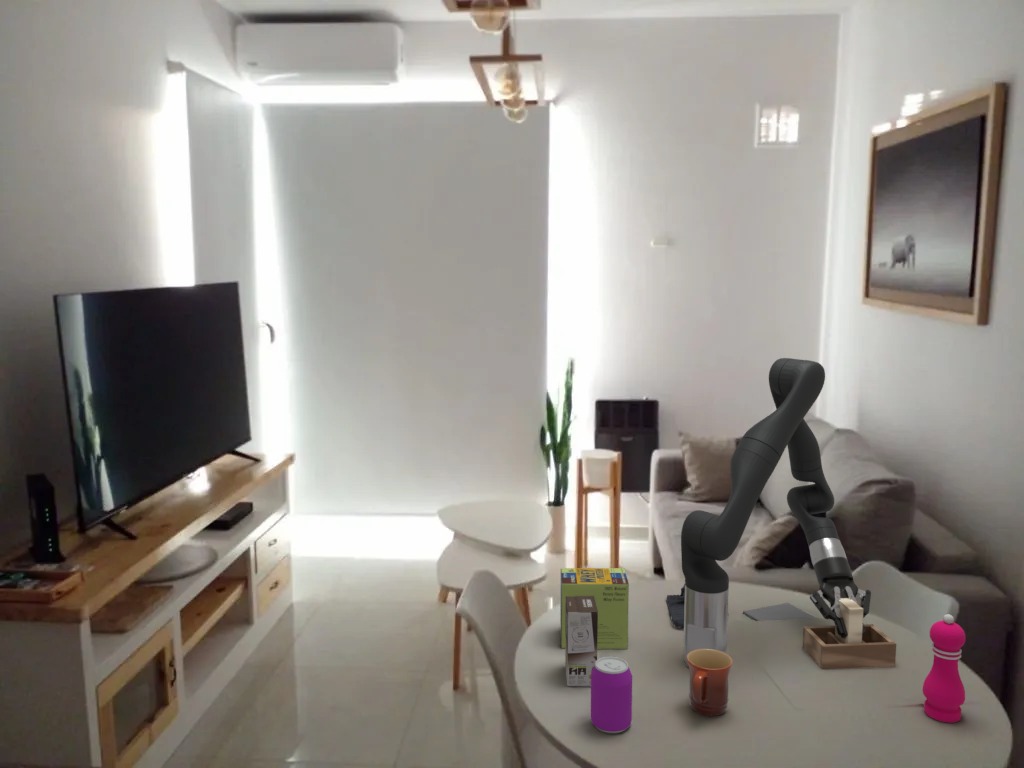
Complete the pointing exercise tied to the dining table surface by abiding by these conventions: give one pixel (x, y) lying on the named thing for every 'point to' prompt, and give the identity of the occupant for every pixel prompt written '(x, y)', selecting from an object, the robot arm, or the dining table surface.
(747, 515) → the robot arm
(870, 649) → the walnut box
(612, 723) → the beverage can
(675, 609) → the dark slate chunk
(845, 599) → the ash block
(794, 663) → the dining table surface
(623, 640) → the protein box
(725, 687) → the mug
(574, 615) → the coffee box
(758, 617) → the rubber mat
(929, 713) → the pepper mill
